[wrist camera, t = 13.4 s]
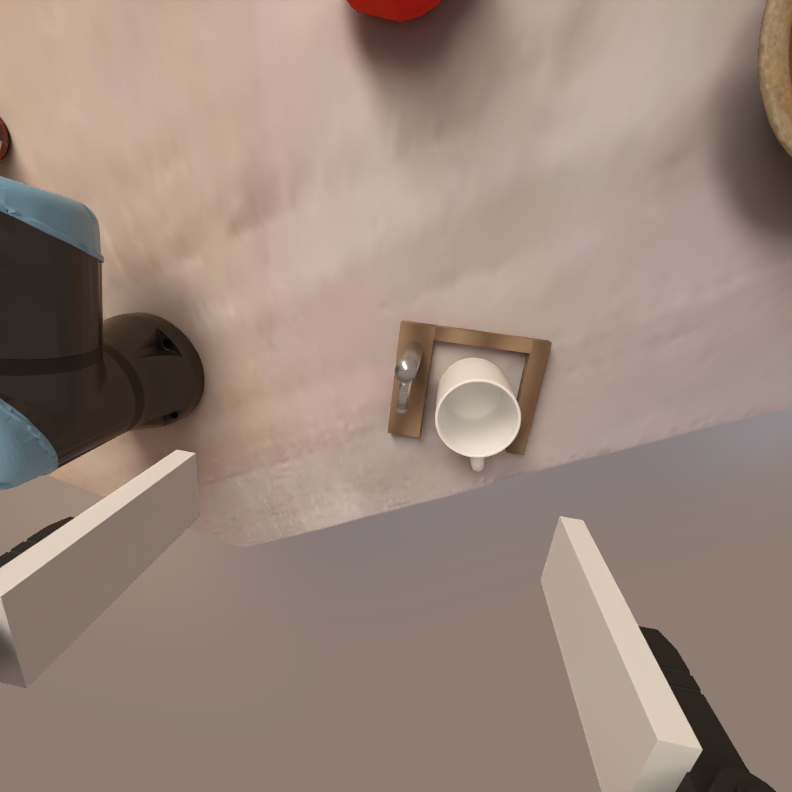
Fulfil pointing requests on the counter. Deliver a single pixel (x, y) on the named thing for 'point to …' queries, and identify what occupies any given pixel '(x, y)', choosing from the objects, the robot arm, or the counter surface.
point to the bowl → (777, 69)
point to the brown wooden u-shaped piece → (428, 333)
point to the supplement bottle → (3, 139)
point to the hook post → (407, 374)
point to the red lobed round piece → (394, 8)
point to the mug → (476, 410)
